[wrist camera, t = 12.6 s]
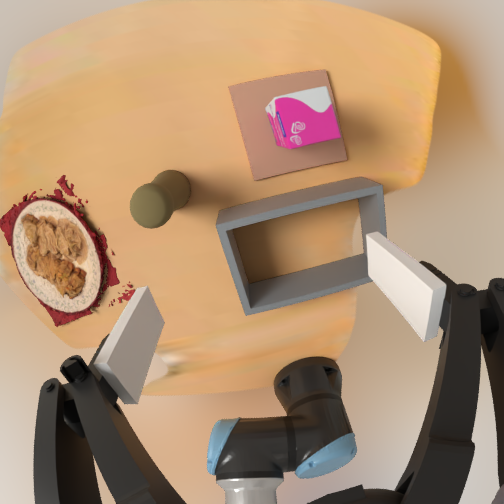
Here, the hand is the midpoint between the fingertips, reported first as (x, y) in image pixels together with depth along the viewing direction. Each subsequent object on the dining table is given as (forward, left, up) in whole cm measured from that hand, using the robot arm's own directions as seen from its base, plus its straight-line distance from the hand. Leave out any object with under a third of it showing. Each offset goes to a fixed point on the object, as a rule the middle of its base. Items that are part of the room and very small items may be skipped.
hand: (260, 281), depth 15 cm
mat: (+9, -8, -25) cm, 28 cm away
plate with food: (0, +36, -26) cm, 45 cm away
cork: (+4, +11, -26) cm, 28 cm away
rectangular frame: (-8, -6, -25) cm, 27 cm away
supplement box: (+8, -8, -25) cm, 28 cm away
